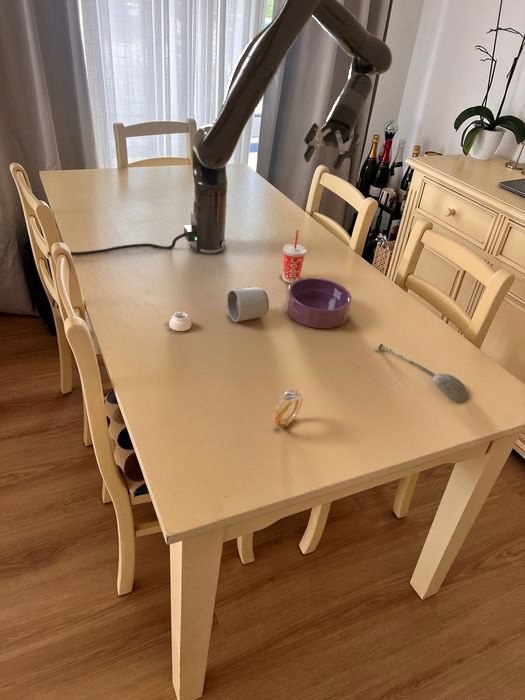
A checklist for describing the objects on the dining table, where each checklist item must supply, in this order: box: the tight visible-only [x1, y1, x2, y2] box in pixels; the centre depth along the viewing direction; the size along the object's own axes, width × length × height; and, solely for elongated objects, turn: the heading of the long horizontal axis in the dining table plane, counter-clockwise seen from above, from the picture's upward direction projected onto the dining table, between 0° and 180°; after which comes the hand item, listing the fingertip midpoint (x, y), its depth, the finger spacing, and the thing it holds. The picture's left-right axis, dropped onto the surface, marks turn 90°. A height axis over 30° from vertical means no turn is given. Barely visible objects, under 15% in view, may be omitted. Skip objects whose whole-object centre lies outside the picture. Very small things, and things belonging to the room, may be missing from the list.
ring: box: [273, 388, 304, 429], centre depth 94 cm, size 7×3×8 cm, turn 135°
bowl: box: [285, 277, 352, 329], centre depth 127 cm, size 15×15×6 cm
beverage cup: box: [281, 230, 307, 284], centre depth 137 cm, size 6×6×14 cm
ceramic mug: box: [226, 287, 270, 323], centre depth 123 cm, size 11×8×8 cm
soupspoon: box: [377, 343, 468, 403], centre depth 112 cm, size 22×3×7 cm
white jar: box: [168, 311, 193, 332], centre depth 117 cm, size 5×3×5 cm
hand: (320, 164), depth 137 cm, fingers open, 8 cm apart
